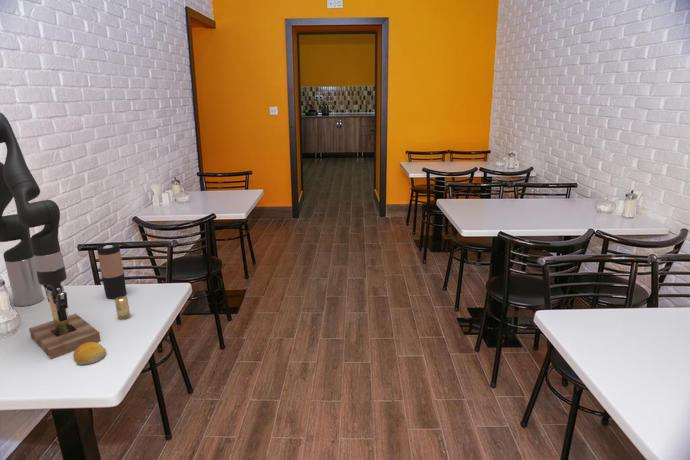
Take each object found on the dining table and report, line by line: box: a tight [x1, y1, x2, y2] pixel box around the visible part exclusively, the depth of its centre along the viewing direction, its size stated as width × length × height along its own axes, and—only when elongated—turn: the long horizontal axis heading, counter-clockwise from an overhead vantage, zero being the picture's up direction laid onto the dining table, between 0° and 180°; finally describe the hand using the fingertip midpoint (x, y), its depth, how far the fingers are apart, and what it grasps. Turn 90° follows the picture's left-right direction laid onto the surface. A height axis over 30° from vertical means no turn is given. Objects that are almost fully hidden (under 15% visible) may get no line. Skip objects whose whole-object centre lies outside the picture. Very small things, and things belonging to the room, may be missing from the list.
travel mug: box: [96, 242, 127, 300], centre depth 185 cm, size 8×8×20 cm
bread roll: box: [72, 342, 107, 366], centre depth 144 cm, size 8×9×4 cm
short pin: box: [114, 295, 131, 321], centre depth 168 cm, size 4×4×7 cm
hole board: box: [28, 313, 101, 360], centre depth 155 cm, size 20×14×3 cm
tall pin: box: [48, 293, 71, 336], centre depth 153 cm, size 4×4×14 cm
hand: (60, 317), depth 153 cm, fingers closed on tall pin, 4 cm apart
